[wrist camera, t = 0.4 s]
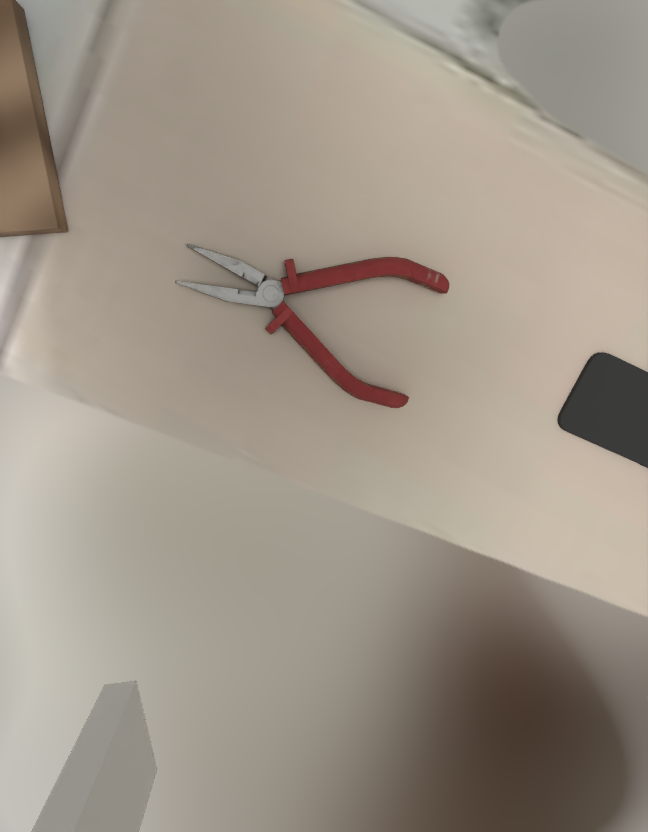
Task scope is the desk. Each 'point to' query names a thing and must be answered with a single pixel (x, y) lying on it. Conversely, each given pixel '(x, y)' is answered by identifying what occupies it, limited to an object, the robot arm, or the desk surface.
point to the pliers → (274, 290)
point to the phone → (610, 407)
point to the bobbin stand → (24, 137)
